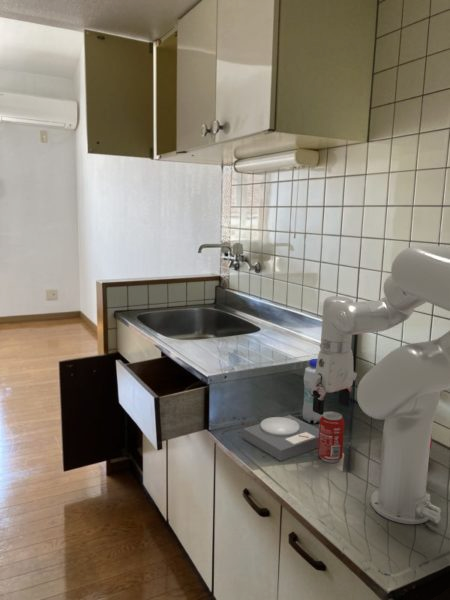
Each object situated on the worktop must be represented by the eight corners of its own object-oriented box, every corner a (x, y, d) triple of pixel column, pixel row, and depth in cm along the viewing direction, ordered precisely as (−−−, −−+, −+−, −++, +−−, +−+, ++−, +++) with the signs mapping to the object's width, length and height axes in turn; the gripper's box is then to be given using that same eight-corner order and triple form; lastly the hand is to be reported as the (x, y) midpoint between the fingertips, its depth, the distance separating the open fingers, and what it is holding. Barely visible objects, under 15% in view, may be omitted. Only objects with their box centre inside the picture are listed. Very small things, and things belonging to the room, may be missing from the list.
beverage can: (340, 453, 129) (342, 411, 127) (343, 465, 123) (346, 420, 121) (316, 451, 129) (318, 409, 127) (319, 463, 123) (321, 419, 121)
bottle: (317, 426, 145) (320, 363, 142) (297, 421, 149) (300, 359, 146) (326, 420, 151) (330, 358, 148) (307, 414, 155) (310, 354, 152)
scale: (328, 443, 134) (329, 430, 134) (280, 461, 124) (281, 446, 123) (289, 424, 147) (289, 411, 146) (243, 438, 137) (243, 425, 136)
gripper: (322, 354, 113) (318, 421, 116) (369, 344, 123) (364, 406, 126) (300, 346, 119) (296, 410, 122) (346, 337, 129) (342, 397, 132)
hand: (330, 408), depth 124 cm, fingers open, 9 cm apart
